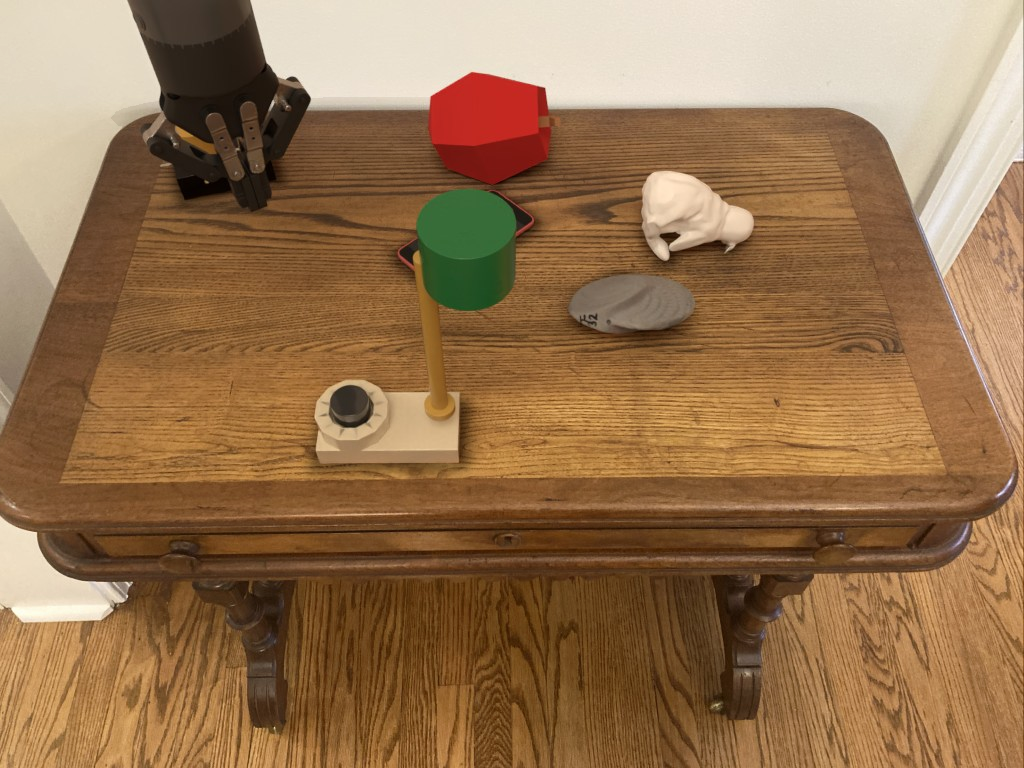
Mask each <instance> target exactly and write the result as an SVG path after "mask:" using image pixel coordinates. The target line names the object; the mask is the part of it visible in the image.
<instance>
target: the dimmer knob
mask: <svg viewBox="0 0 1024 768" xmlns="http://www.w3.org/2000/svg"><path fill="white" fill-rule="evenodd" d="M175 128H176V129H177V131H178V133H179V135H180V136H181V139H183V140H185V141H187V142H189V143H191V144H193V145H195V146H197V147H199V148H200V149H202V150H204V151H206V152H208V153H209V154H217V153H216V151H215V149H214V146H213V144H211V143H206V142H203V141H202V140H200V139H198V138H196V137H195V136H193V135H191V134H189V133H188V132H186V131H184V130H182V129H181V128H179V127H177V126H175Z"/></svg>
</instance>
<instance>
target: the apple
mask: <svg viewBox="0 0 1024 768" xmlns="http://www.w3.org/2000/svg"><path fill="white" fill-rule="evenodd" d="M549 111H550V110H549V105H548V97H547V90H546V87H544V86H539V85H535V84H532V83H528V82H523V81H519V80H515V79H512V78H508V77H507V78H506V77H502V76H499V75H494V74H490V73H482V72H476V71H475V72H474V71H470V72H469V73H467V74H466V75H464V76H461V77H460V78H459V79H457V80H455V81H454V82H452V83H450V84H448V85H446V86H445V87H443V88H442V89H440V90H438V91H436V92H435V93H434V94H432V95H430V97H429V109H428V120H427V132H428V135H429V138H430V141H431V144H432V146H433V148H434V149H435V151H436V153H437V155H438V156H439V158H440V160H441V162H442V164H443V165H444V167H445V168H446V169H447V170H450V171H451V172H455V173H458V174H461V175H464V176H467V177H468V178H472V179H474V180H476V181H480V182H483V183H486V184H488V185H490V186H494V185H496V184H498V183H501V182H502V181H505V180H507V179H508V178H511V177H513V176H515V175H517V174H519V173H521V172H524V171H525V170H528V169H529V168H532V167H534V166H536V165H539V164H540V163H542V162H544V161H547V160H548V159H549V151H550V143H551V138H552V137H551V135H552V127H558V126H562V119H561V118H560V116H558V115H550V112H549Z"/></svg>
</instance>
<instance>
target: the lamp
mask: <svg viewBox="0 0 1024 768" xmlns="http://www.w3.org/2000/svg"><path fill="white" fill-rule="evenodd" d="M487 191H488V190H487ZM487 191H486V190H483V189H476V188H459V189H452V190H448V191H445V192H443V193H440V194H438V195H436V196H434V197H433V198H430V200H429V201H427V202H426V203H425V204H424V205H423V207H422V208H421V209H420V211H419V213H418V215H417V217H416V222H415V224H416V225H415V226H416V227H415V228H416V238H417V237H418V246H419V250H418V251H417V252H415V253H414V255H413V264H414V271H415V272H414V271H413V272H414V278H415V286H416V294H417V301H418V303H417V304H418V310H419V319H420V327H421V334H422V341H423V342H422V343H423V349H424V359H425V366H426V374H427V381H428V392H430V395H429V396H428V397H427V398H426V399H425V402H424V408H425V413H426V415H427V416H428V417H429V418H430V419H432V420H435V421H444V420H447V419H449V418H450V417H451V416H452V415H453V414H454V412H455V400H454V398H453V396H452V395H450V394H449V393H447V392H448V387H447V380H446V370H445V358H444V349H443V338H442V329H441V327H442V326H441V319H440V318H441V317H440V305H441V306H443V307H445V308H447V309H451V310H454V311H460V312H477V311H481V310H485V309H489V308H491V307H493V306H495V305H497V304H498V303H500V302H502V301H503V300H504V299H505V298H506V297H507V296H508V295H509V294H510V293H511V291H512V289H513V287H514V286H515V281H516V275H517V273H516V271H517V270H516V268H517V267H516V266H517V265H516V263H517V261H516V260H517V237H516V218H515V214H514V212H513V210H512V209H511V207H510V206H509V205H508V204H507V203H506V202H505V201H504V200H503V199H501V198H500V197H498V196H497V195H494V194H492V193H490V192H487Z"/></svg>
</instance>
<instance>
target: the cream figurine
mask: <svg viewBox="0 0 1024 768" xmlns="http://www.w3.org/2000/svg"><path fill="white" fill-rule="evenodd" d="M641 194H642V207H641V209H640V210H641V211H640V213H641V217H642V220H643V221H642V223H641V230H642V231H643V234H644V236H645V240H646V243H647V245H648V246H649V248H650V250H651V251H652V252H653V253H654V254H655V255H656V256H657V258H659V260H661V261H664V262H667V261H668V260H669V259H670V255H671V254H670V252H678V251H682V250H686V249H689V248H692V247H697V246H699V245H702V244H705V243H706V244H707V243H712V242H715V241H720V242H721V243H722V244H723V245H726V246H725V249H724V250H725V251H724V254H726V253H728V252H729V251H732V250H733V249H734V248H735V247H736V245H738V244H739V243H742V242H744V241H746V240H747V239H749V238H750V237H751V235H752V233H753V230H754V227H755V219H754V216H753V214H752V213H751V212H750V211H749V210H747V209H746V208H743V207H741V206H737V205H733V204H732V205H731V204H728V202H726V201H724V200H723V199H722V198H721V196H720V194H718V193H716V192H714V191H713V190H712V188H711V187H710V186H709V185H708V184H706V183H705V182H703V181H702V180H699V178H697V177H695V176H693V175H690V174H687V173H684V172H678V171H673V170H658V171H654V172H652V173H651V174H649V175H648V176H647V178H646V180H645V182H644V183H643V185H642V188H641ZM668 233H676V234H678V235H680V236H678V237H677V238H676V239H675V240H673V241H672V242H671V243H670V244H669V245H668V243H667V242H666V241H665V239H663V238H662V237H661V234H668Z"/></svg>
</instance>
